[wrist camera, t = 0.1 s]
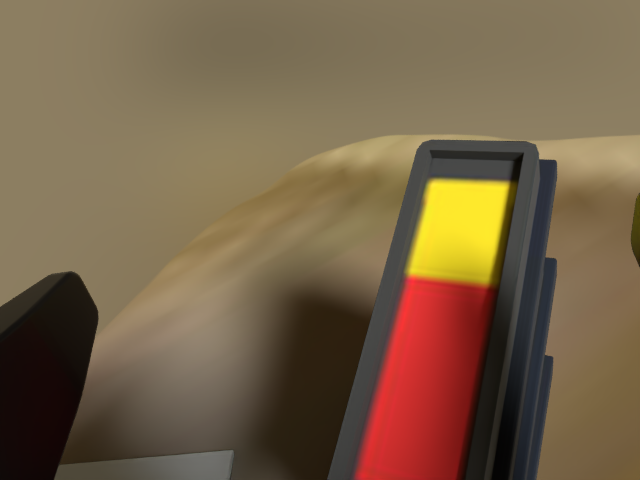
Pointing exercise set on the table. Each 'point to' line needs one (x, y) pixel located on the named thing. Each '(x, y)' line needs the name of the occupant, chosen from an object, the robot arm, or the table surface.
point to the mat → (154, 468)
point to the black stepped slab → (459, 323)
